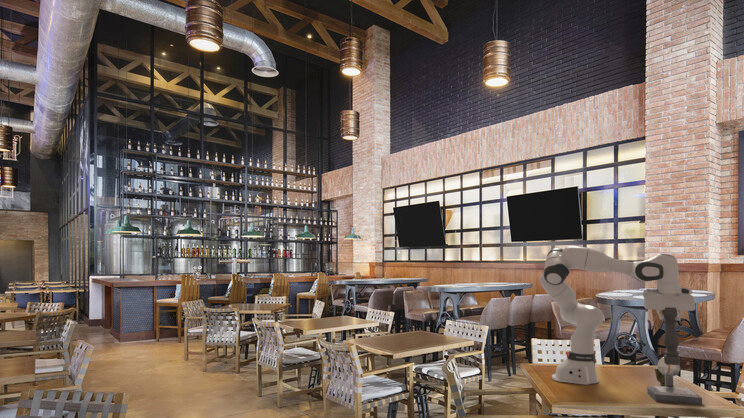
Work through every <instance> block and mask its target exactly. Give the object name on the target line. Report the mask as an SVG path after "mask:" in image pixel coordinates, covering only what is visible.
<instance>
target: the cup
mask: <svg viewBox="0 0 744 418" xmlns="http://www.w3.org/2000/svg"><path fill="white" fill-rule="evenodd" d="M654 372H655V377H656V381H657V382H658V383H660V384H659V386H665V375H663V374H662V373H661V372H660V371H659V369H658V367H657V368H655V369H654Z"/></svg>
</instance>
